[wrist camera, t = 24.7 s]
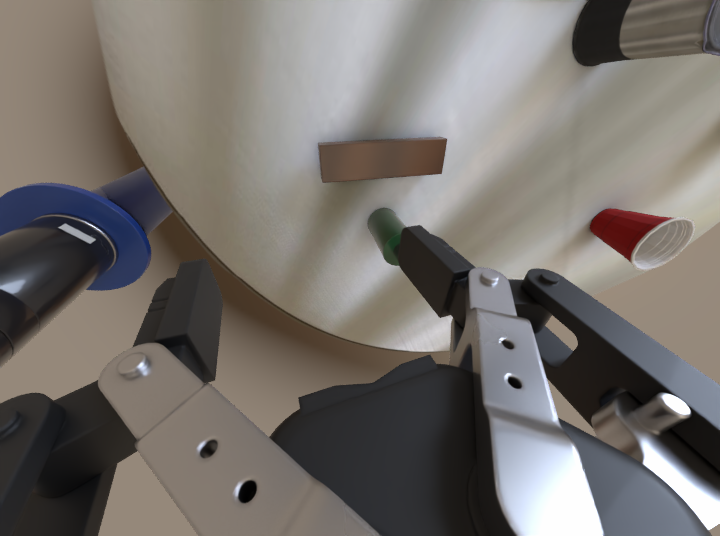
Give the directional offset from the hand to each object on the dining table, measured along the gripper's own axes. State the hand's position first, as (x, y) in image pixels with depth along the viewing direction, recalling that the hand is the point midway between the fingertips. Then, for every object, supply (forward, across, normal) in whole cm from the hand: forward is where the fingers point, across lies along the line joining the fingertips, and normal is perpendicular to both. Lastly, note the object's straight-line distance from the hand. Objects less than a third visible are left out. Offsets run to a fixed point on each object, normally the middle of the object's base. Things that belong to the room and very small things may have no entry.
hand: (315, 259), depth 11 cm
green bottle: (+28, -17, +14) cm, 36 cm away
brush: (+29, -16, +3) cm, 33 cm away
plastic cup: (+21, -66, +18) cm, 72 cm away
